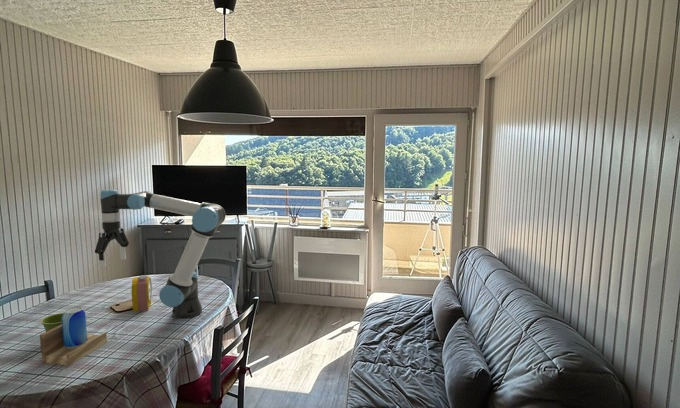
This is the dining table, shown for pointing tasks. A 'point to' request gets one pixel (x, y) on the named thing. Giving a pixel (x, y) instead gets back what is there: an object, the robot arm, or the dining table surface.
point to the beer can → (74, 328)
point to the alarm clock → (141, 293)
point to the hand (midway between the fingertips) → (113, 262)
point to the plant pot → (52, 321)
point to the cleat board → (59, 353)
